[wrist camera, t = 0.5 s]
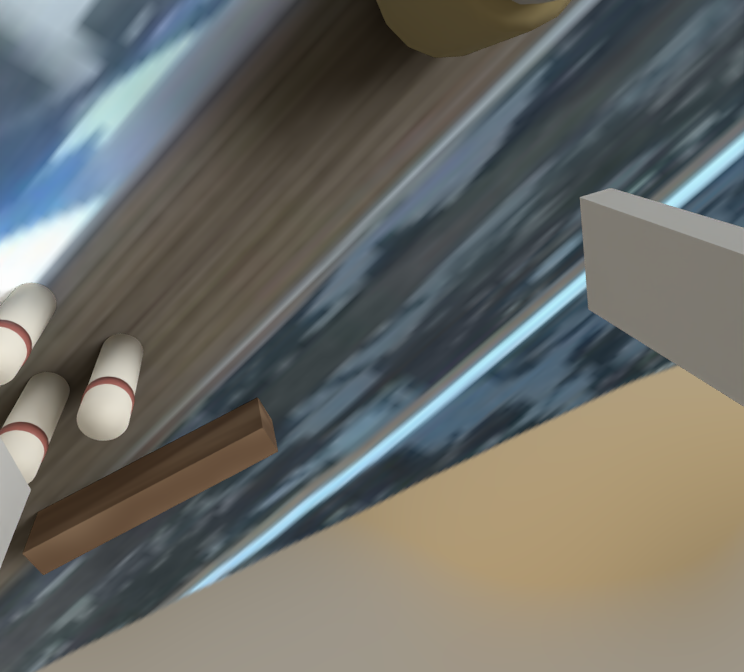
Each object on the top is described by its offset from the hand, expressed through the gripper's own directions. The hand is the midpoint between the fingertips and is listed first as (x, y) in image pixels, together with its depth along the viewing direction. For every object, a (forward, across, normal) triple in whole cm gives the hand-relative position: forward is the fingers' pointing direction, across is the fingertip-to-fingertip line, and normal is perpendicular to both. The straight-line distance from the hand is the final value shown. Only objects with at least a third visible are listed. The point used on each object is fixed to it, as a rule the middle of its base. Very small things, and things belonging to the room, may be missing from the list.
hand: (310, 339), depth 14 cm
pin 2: (+26, -10, -9) cm, 29 cm away
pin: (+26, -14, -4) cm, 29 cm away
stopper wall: (+26, -11, -17) cm, 33 cm away
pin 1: (+26, -15, -10) cm, 31 cm away
